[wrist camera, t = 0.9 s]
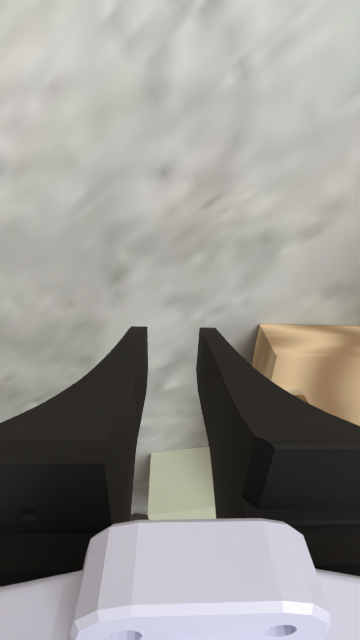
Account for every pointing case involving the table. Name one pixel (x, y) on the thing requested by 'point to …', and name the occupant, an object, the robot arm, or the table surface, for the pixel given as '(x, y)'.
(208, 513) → the sage cube
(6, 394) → the table surface
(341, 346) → the oak step
